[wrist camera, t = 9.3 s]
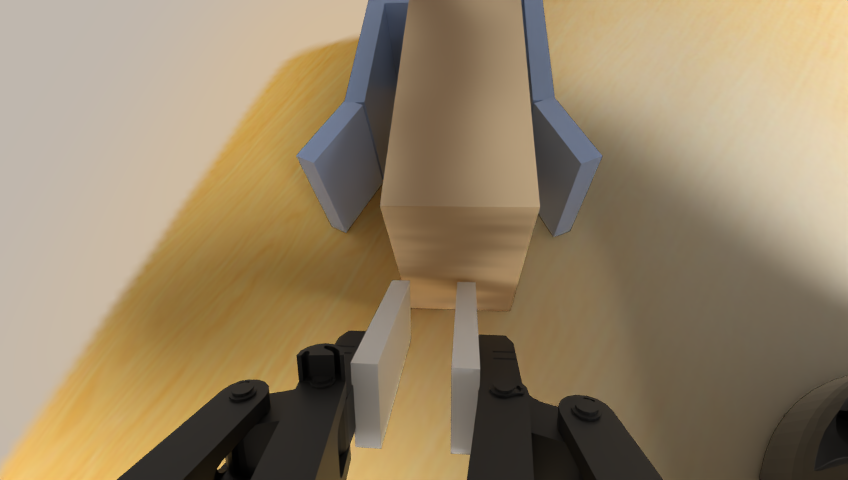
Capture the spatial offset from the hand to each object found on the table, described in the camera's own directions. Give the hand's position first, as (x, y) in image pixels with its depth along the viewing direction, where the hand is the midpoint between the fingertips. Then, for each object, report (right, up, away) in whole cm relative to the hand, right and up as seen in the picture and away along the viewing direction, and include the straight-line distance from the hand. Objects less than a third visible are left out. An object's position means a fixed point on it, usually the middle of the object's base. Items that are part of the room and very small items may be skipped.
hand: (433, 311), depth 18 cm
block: (+2, +5, +6) cm, 8 cm away
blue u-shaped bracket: (+1, +9, +9) cm, 13 cm away
